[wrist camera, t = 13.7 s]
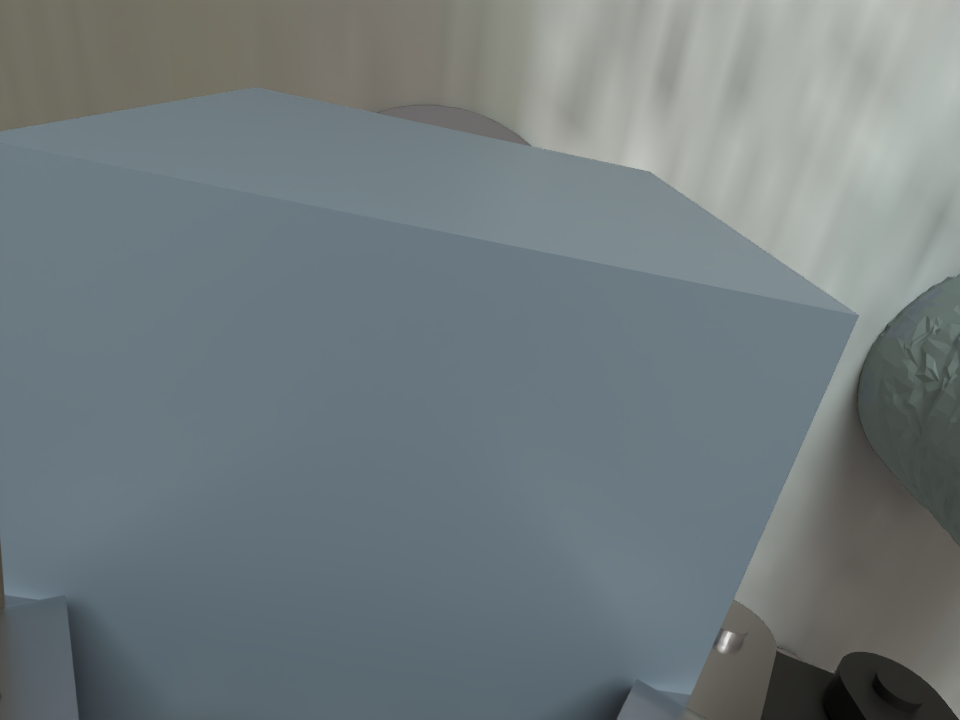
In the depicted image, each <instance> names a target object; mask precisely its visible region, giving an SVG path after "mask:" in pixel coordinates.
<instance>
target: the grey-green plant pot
mask: <svg viewBox="0 0 960 720" xmlns="http://www.w3.org/2000/svg"><path fill="white" fill-rule="evenodd" d="M857 402H858V413H859V417H860V421H861V424H862V427H863V430H864V433H865V435H866V437H867V439H868V441H869V443H870V445H871V446H872V448H873V450H874V451H875V452H876V453H877V455H878V456H879V457H880V458H881V459H882V461H883V462H884V463H885V464H886V466H887V467H888V468H889V469H890V470H891V471H892V473H893V474H894V475H895V476H896V477H897V478H898V480H899V481H900V482H901V483H902V484H903V485H904V487H905V488H906V489H907V490H908V491H909V492H910V494H911V495H912V496H913V497H914V498H915V499H916V500H917V501H918V502H919V503H920V504H921V505H923V506H924V507H926V508H927V509H928V510H930V512H931V513H932V514H933V516H934V517H935V518H936V520H937V521H938V522H939V523H940V525H941V526H942V527H943V528H944V529H946V530H947V531H948V532H949V534H950V535H951V537H952V538H953V540H954V541H955V542H956V543H957V544H958V545H959V546H960V274H959V275H958V276H957V277H948V278H946V279H945V280H944V281H943V282H942V283H939V284H937V285H934V286H932V287H931V288H930V289H929V290H928V291H926V292H924V293H923V294H921V295H920V296H919V297H918V298H917V299H916V300H914V301H913V302H911V303H910V304H909V305H908V306H906V307H905V308H904V309H903V310H902V311H901V312H900V313H899V314H898V316H897V317H896V318H895V319H894V320H892V321H891V322H890V323H889V324H888V325H887V328H886V330H885V331H884V332H882V333H881V334H880V335H879V337H878V339H877V340H876V342H875V343H874V344H873V346H872V348H871V350H870V352H869V354H868V356H867V358H866V360H865V363H864V366H863V369H862V372H861V376H860V382H859V388H858V400H857Z"/></svg>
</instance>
